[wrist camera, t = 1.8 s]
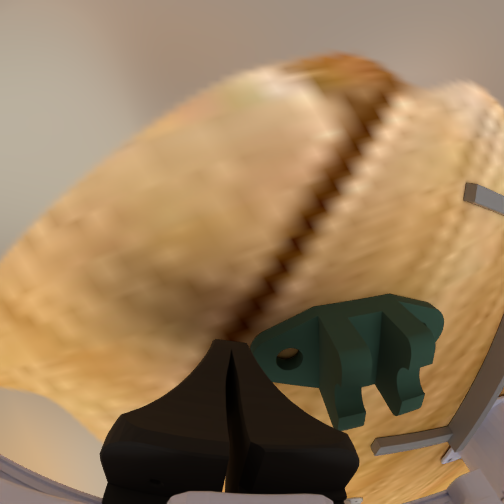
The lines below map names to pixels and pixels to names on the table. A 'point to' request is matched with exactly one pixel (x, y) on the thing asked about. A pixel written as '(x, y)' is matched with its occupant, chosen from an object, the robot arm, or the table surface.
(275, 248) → the table surface
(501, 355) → the u-shaped gray bracket
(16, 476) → the robot arm
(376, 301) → the mount
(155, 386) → the table surface
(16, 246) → the table surface
